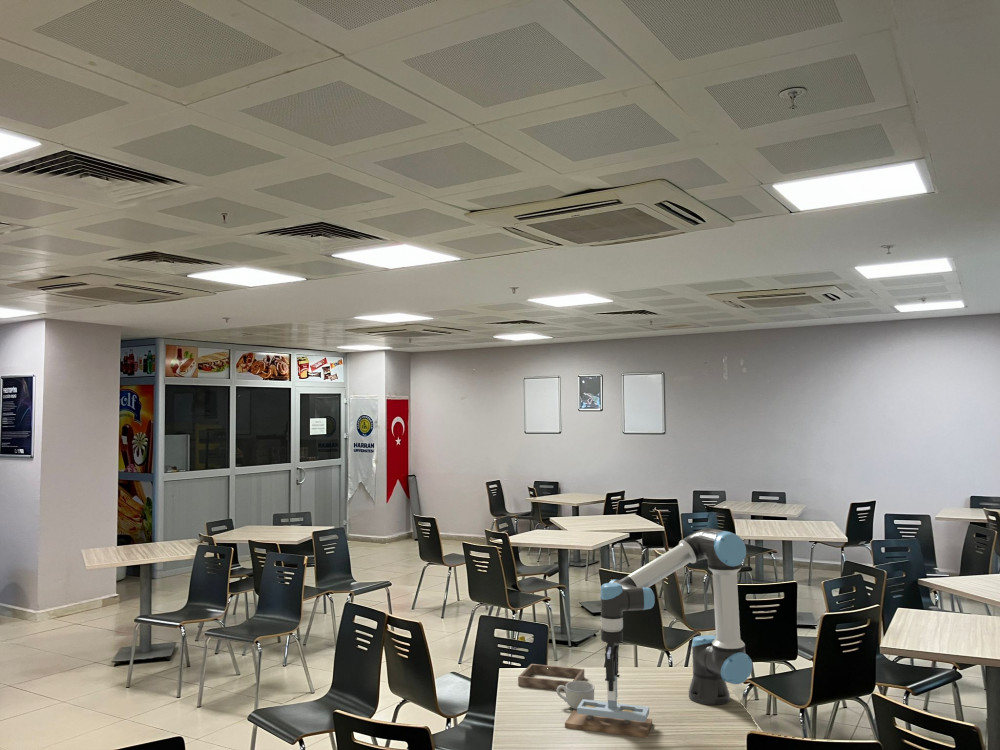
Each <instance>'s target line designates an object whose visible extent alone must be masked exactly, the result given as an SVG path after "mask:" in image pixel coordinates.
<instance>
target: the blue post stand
mask: <svg viewBox="0 0 1000 750" xmlns="http://www.w3.org/2000/svg"><path fill="white" fill-rule="evenodd" d="M615 681H616V701H612V700H608V699H607V701H603V700H602V701H601V700H595V699H594V700H585V699H583V700H582V701H581V703H580V704H579V705H578V707H577V714H584V715H592V716H600V717H608V718H617V719H625V720H633V721H641V722H646V719H648V717H649V714H650V706H646V705H645V706H643V705H638V704H637V705H636V704H628V703H627V704H626V703H618V701H617V700H618V699H617V698H618V697H617V696H618V677H616V675H615ZM587 705H592V706H595V708H593V707H585V706H587ZM622 710H632V711H633V712H627V711H622Z"/></svg>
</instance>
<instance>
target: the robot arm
mask: <svg viewBox="0 0 1000 750" xmlns="http://www.w3.org/2000/svg"><path fill="white" fill-rule="evenodd" d="M746 556H747V547H746V544H745V542H744V540H743V539H742V538H741V537H740V536H739V535H738V534H736V533H733V532H732V531H728V530H721V529H716V528H712V527H711V528H710V527H709V528H702V529H700V530H696V531H695V532H693V533H691V534H689V535H688V536H686V537H685V538H682V539H681V540H680V541H678V544H677V545H676V546H675V547H673V548H671V549H670V550H668V551H666V552H665V553H663V554H661V555H659V556H658V557H656V558H655V559H653V560H652V561H650V562H648V563H646V564H644V565H643V566H641V567H640V568H638V569H636V570H635V571H633V572H631V573H630V574H628V575H627V576H625V577H623V578H621V579H612V580H610V581H609V582H606V583H603V584H602V585H601V586H600V587H601V588H600V597H599V598H600V618H599V619H598V620H599V622H601V623H600V627H601V630H600V639H601V641H602V642H604V643H606V646H605V649H604V650H605V652H604V657H605V679H604V681H605V682H606V683H607V684H606V685H607V687H606V688H607V691H606V692H607V693H606V694H607V701H608V700H612V701H616V681H615V675H616V677H617V678H620V676H621V675H620V674H619V649H620V645H619V643H621V642H623V640H624V633H623V632H624V631H623V628H624V620H623V619H624V617H623V614H624V613H623V612H627V611H629V612H630V611H645V610H651V609H652V608H654V605H655V602H656V600H655V599H656V598H655V593H654V591H653V590H652V588H651V586H653V585H655V584H657V583H658V582H660V581H662V580H663V579H665V578H667V577H668V576H669V575H671V574H674V573H675V572H676V571H678V570H679V569H682V568H683V567H684V566H686V565H688V564H689V563H691V564H695V563H697V562H698V561H702V560H707V568H708V570H709V571H710V572H711V573H712V585H713V586H712V587H713V588H712V589H713V603H714V604H713V605H714V606H713V607H714V622H715V623H714V624H715V635H712V634H710V635H709V634H707V635H697V636H695V637H693V638H692V643H691V648H692V651H691V652H692V678H691V681H690V685H689V688H688V697H689V699H690V700H691V701H693V702H695V703H698V704H702V705H710V706H716V705H717V706H718V705H724V704H727V703H729V702H730V701H731V696H730V695H731V694H730V691H729V688H728V685H727V683H728V684H729V683H730V684H732V685H739V684H743V683H745V682H747V679H748V678H749V677H750V676H751V675H752V671H753V661H752V659H751V657H750V656H749V655H748V654H747V653H746V644H745V642H744V641H743V640H742V639H741V630H740V629H741V627H740V610H739V607H740V606H739V592H738V591H739V590H738V589H739V588H738V587H739V586H738V573H739V571H741V569H742V567H741V566H742V563H744V560H745V558H746ZM617 698H619V697H618V695H617Z"/></svg>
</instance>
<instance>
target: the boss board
mask: <svg viewBox="0 0 1000 750" xmlns="http://www.w3.org/2000/svg"><path fill="white" fill-rule="evenodd" d="M585 707H593V708H595V706H592V705H587V706H585ZM622 711H627V712H633V711H632V710H622ZM652 725H653V719H652V718H647V719H646V722H641V721H633V720H625V719H617V718H608V717H600V716H592V715H584V714H577V710H575V709H573V710H572V711H571V714H570V715H569V716H568V718H567V719H566V721H565V722H564V728H566V729H567V728H568V729H573V730H574V729H576V730H583V731H589V732H590V731H591V732H597V733H598V732H600V733H607V734H613V735H614V734H615V735H623V736H629V737H638V738H648V735H649V732H651V731H650V730H651V727H652Z"/></svg>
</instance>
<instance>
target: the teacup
mask: <svg viewBox="0 0 1000 750" xmlns="http://www.w3.org/2000/svg"><path fill="white" fill-rule="evenodd" d="M560 688H563V689H564V691H563V692H564V693H565V696H564V695H563V694H561V692H560V690H559V689H560ZM556 694H557V695H558V697H559V698H561V699H563V701H564V702H565V703H567V705H568V706H569V707H570V708H571V709H573V710H577V707H578V705H579V704H580V703H581V701H582V700H583V699H585V700H594V701H595V685H594V684H593V683H591V682H589V681H585V680H582V681H573V680H572V681H571V682H568V683H567V684H566V687H565V686H563V685H560V686H558V687H557V690H556Z"/></svg>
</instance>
